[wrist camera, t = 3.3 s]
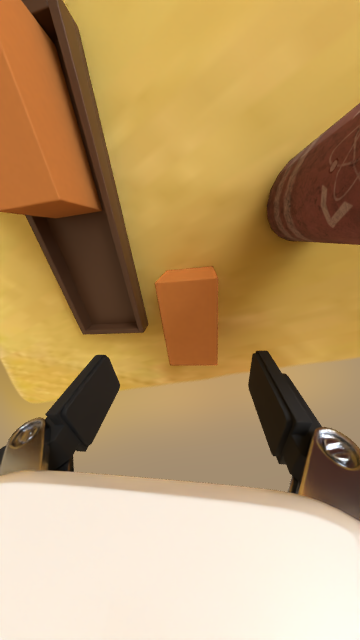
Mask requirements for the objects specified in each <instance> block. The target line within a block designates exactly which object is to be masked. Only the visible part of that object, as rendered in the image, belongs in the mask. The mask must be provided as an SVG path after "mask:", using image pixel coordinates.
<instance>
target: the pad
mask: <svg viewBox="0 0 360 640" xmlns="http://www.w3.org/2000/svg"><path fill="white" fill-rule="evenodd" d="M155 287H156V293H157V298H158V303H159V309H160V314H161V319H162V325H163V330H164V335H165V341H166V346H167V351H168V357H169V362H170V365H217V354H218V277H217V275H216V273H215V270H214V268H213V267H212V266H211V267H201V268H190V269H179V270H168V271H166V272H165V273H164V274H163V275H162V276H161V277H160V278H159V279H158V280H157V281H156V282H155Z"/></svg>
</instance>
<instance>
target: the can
mask: <svg viewBox="0 0 360 640" xmlns="http://www.w3.org/2000/svg"><path fill="white" fill-rule="evenodd" d="M267 214H268V221H269V223H270V226H271V228H272V230H273V231H274V232H275V233H276V234H277V235H278V236H279V237H281V238H284V239H286V240H288V241H304V242H321V243H338V244H356V245H360V103H359V104H358V105H357V106H356V107H354V108H353V109H352V110H351V111H350V112H348V113H347V114H346V115H345V116H344V117H342V118H341V119H340V120H339V121H337V122H336V123H335V124H334V125H333V126H331V127H330V128H329V129H328V130H327V131H325V132H324V133H323V134H322V135H320V136H319V137H318V138H317V139H316V140H314V141H313V142H312V143H311V144H310V145H308V146H307V147H306V148H305V149H303V150H302V151H301V152H300V153H299V154H297V155H296V156H295V157H294V158H293V159H291V160H290V161H289V162H288V164H287V165H286V166H285V167H284V169H283V170H282V171H281V172H280V173H279V175H278V177H277V179H276V181H275V183H274V185H273V187H272V189H271V191H270V195H269V199H268V204H267Z"/></svg>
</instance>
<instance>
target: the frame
mask: <svg viewBox="0 0 360 640" xmlns="http://www.w3.org/2000/svg"><path fill="white" fill-rule="evenodd" d="M21 1H22V2H23V3H24V5H25V6H26V7H27V9H28V10H29V11H30V13H31V14H32V15H33V17H34V18H35V19H36V21H37V22H38V23H39V24H40V26H41V27H42V28H43V30H44V31H45V32H46V34H47V35H48V36H49V38H50V39H51V40H52V42H53V43H54V44H55V47H56V50H57V53H58V57H59V60H60V64H61V67H62V71H63V74H64V78H65V82H66V85H67V89H68V92H69V96H70V99H71V103H72V106H73V110H74V113H75V117H76V120H77V124H78V127H79V131H80V134H81V138H82V141H83V145H84V148H85V152H86V155H87V159H88V162H89V166H90V169H91V173H92V176H93V180H94V183H95V187H96V190H97V194H98V197H99V201H100V204H101V208H102V211H99V212H93V213H87V214H81V215H74V216H68V217H62V218H48V217H40V216H31V215H26V218H27V220H28V222H29V224H30V226H31V228H32V230H33V232H34V234H35V236H36V238H37V240H38V242H39V244H40V247H41V249H42V251H43V253H44V255H45V257H46V259H47V261H48V263H49V265H50V267H51V269H52V271H53V273H54V275H55V278H56V280H57V282H58V284H59V286H60V288H61V290H62V292H63V294H64V296H65V298H66V300H67V302H68V304H69V307H70V309H71V311H72V313H73V315H74V317H75V319H76V321H77V323H78V325H79V327H80V329H81V331H82V333H83V334H112V333H143V332H144V331H145V329H146V327H147V326H148V321H147V317H146V312H145V308H144V304H143V300H142V296H141V291H140V287H139V283H138V279H137V274H136V270H135V266H134V262H133V258H132V253H131V249H130V245H129V241H128V236H127V232H126V228H125V224H124V220H123V215H122V211H121V207H120V203H119V198H118V194H117V190H116V186H115V182H114V177H113V173H112V169H111V165H110V160H109V156H108V152H107V148H106V144H105V139H104V135H103V131H102V127H101V122H100V118H99V114H98V110H97V106H96V101H95V97H94V93H93V89H92V84H91V80H90V76H89V72H88V68H87V63H86V59H85V55H84V51H83V46H82V42H81V38H80V34H79V30H78V26H77V25H76V23H75V21H74V20H73V18H72V16H71V14H70V13H69V11H68V9H67V7H66V6H65V4H64V2H63V1H62V0H21Z"/></svg>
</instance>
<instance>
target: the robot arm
mask: <svg viewBox="0 0 360 640" xmlns="http://www.w3.org/2000/svg"><path fill="white" fill-rule="evenodd" d="M248 385H249V391H250V394H251V396H252V399H253V402H254V405H255V408H256V410H257V414H258V416H259V419H260V422H261V425H262V428H263V431H264V434H265V436H266V439H267V442H268V445H269V448H270V451H271V453H272V455H273V456H276V457H277V460H278V462H279V464H286V465H287V467H288V470H289V472H290V474H291V475H292V478H291V481H290V485H289V488H288V492H283V491H277V490H271V489H262V488H252V487H244V486H234V485H223V484H213V483H200V482H189V481H179V480H167V479H155V478H143V477H132V476H120V475H107V474H94V473H81V472H74V468H73V454H74V452H75V450H77V451H86V450H87V448H88V446H89V445H90V444H91V443H92V442H93V440H94V438H95V436H96V434H97V432H98V430H99V428H100V426H101V424H102V422H103V420H104V418H105V416H106V414H107V412H108V410H109V408H110V406H111V404H112V402H113V401H114V399H115V396H116V394H117V393H118V391H119V388H120V383H119V381H118V379H117V376H116V374H115V371H114V369H113V367H112V364H111V362H110V359H109V358H108V357H107V356H106V355H96V356H95V357H94V358H93V359H92V360H91V361H90V362H89V364H88V365H87V366H86V367H85V368H84V369H83V371H82V372H81V373H80V374H79V375H78V377H77V378H76V379H75V380H74V381H73V382H72V384H71V385H70V386H69V387H68V388H67V389H66V391H65V392H64V393H63V394H62V395H61V397H60V398H59V399H58V400H57V401H56V402H55V404H54V405H53V406H52V407H51V408H50V409H49V411H48V412H47V413H46V416H47V418H46V419H45V420H44V419H43V418H35V419H32V420H30V421H28V422H26V423H25V424H23V425H22V426H21V427H19V428H18V429H17V430H16V431H15V432H14V433H13V434H12V436H11V437H10V438H9V440H8V442H7V445H6V446H4V447H3V448H1V449H0V640H360V449H359V447H357V445H356V444H355V443H354V442H353V441H352V440H350V439H349V438H348V437H347V436H345V435H344V434H342V433H340V432H338V431H336V430H334V429H331V428H326V427H322V426H321V425H320V423H319V422H318V421H317V419H316V417H315V416H314V414H313V413H312V411H311V410H310V408H309V407H308V405H307V404H306V402H305V401H304V399H303V398H302V396H301V395H300V393H299V392H298V390H297V389H296V387H295V386H294V384H293V383H292V381H291V380H290V378H289V377H288V376H287V375H286V374H282V373H281V371H280V370H279V368H278V367H277V365H276V363H275V362H274V360H273V359H272V357H271V355H270V354H269V352H268V351H256V353H254V354H253V355H252V362H251V369H250V377H249V384H248Z"/></svg>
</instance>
